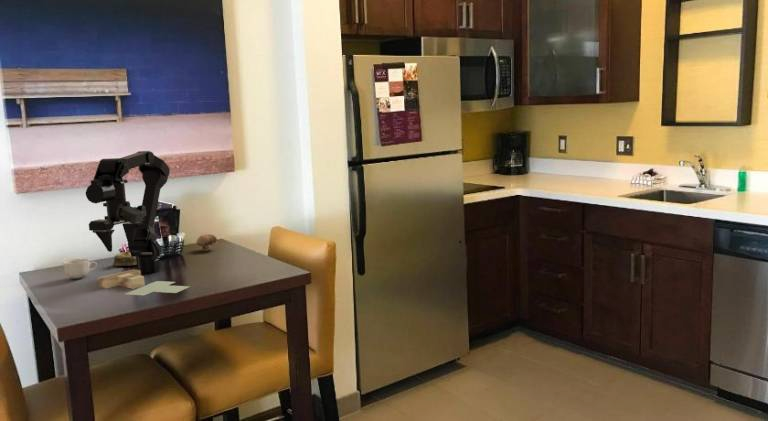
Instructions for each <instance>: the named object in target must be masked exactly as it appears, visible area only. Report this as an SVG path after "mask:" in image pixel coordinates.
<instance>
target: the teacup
mask: <svg viewBox="0 0 768 421" xmlns="http://www.w3.org/2000/svg"><path fill="white" fill-rule="evenodd" d="M62 264H63V269H64V273H65V275H66V276H67V277H68V278H70V279H81V278H84V277H86V276H87V275H88V274H89V272H91V271H94V270H95V269H96V268H97V267H98V263H97V262H96V261H90V259H89V258H75V259H67V260H66V261H65V260H64V261H63V262H62ZM92 264H95V265H94V266H95V267H93V268H91V265H92Z"/></svg>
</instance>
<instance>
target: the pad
mask: <svg viewBox="0 0 768 421" xmlns="http://www.w3.org/2000/svg"><path fill="white" fill-rule="evenodd" d="M175 283H176V281H166V280H165V281H164V280H156V281H153V282H151V283H148V284H145V286H142V287H138V288H135V289H134V290H133V289H132V290H131V291H129V292H126V293H124V295H127V296H129V295H130V296H147V295H148V294H152V293H165V294H166V293H168V294H169V293H170V294H177V293H180V292H181V291H184V290H186V289H188V288H191V286H189V285H188V286H187V285H172V284H175Z"/></svg>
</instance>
